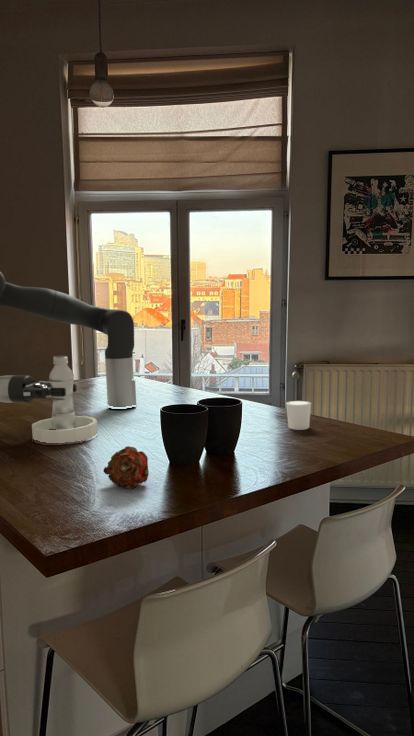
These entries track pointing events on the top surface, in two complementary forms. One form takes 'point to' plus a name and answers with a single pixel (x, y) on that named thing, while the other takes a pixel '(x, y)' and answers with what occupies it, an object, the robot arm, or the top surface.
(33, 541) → the top surface
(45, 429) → the bowl
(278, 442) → the top surface
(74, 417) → the plastic bottle
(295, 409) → the white cup
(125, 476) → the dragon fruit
